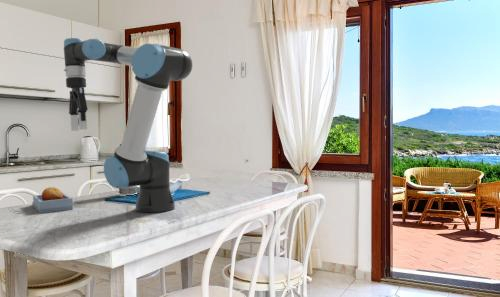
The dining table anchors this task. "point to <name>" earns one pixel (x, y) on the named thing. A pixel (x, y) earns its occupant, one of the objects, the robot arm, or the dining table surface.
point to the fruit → (52, 194)
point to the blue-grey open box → (52, 204)
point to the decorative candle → (127, 190)
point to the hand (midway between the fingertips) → (79, 130)
